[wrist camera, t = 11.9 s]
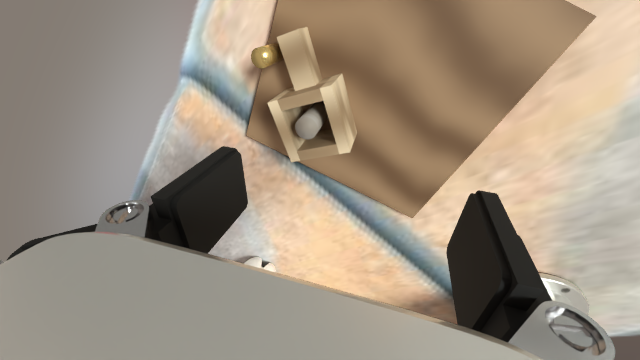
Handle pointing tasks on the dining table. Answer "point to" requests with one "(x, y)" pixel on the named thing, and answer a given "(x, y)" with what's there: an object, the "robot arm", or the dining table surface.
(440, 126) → the board
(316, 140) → the square frame with tab
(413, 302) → the dining table surface
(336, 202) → the dining table surface
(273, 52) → the dowel pin
